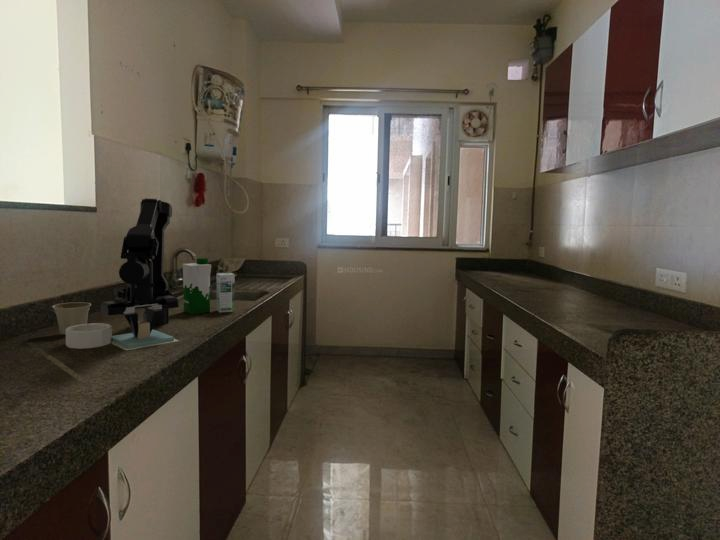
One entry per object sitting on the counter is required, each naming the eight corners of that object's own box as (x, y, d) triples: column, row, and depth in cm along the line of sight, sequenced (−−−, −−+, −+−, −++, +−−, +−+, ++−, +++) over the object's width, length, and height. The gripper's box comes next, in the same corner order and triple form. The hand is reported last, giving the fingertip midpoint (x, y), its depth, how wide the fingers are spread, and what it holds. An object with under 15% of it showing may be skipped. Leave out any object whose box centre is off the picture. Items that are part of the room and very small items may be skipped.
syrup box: (219, 312, 166) (219, 274, 165) (216, 310, 172) (216, 272, 170) (234, 312, 169) (235, 273, 168) (231, 309, 174) (231, 272, 173)
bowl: (102, 339, 125) (102, 321, 124) (117, 346, 118) (116, 327, 118) (61, 345, 117) (60, 327, 117) (74, 353, 111) (73, 333, 110)
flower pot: (73, 339, 124) (72, 309, 123) (44, 337, 125) (43, 306, 125) (99, 332, 133) (98, 303, 132) (72, 329, 135) (71, 301, 134)
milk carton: (213, 312, 167) (213, 259, 165) (189, 315, 160) (189, 259, 159) (203, 309, 173) (203, 257, 171) (180, 311, 167) (179, 258, 165)
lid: (153, 332, 131) (153, 316, 130) (173, 340, 123) (173, 322, 122) (109, 339, 122) (109, 321, 121) (128, 348, 114) (128, 329, 113)
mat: (155, 334, 132) (155, 331, 132) (179, 343, 123) (179, 340, 123) (104, 342, 122) (104, 339, 122) (126, 353, 113) (125, 350, 112)
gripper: (161, 274, 133) (161, 325, 134) (91, 278, 119) (93, 336, 120) (179, 278, 126) (180, 332, 127) (108, 283, 112) (109, 344, 113)
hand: (141, 335), depth 122 cm, fingers closed on lid, 3 cm apart
